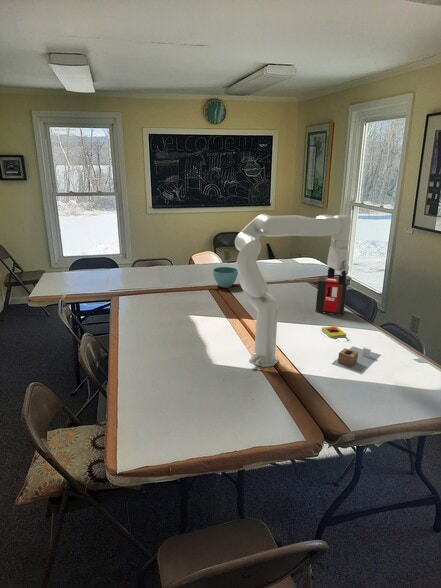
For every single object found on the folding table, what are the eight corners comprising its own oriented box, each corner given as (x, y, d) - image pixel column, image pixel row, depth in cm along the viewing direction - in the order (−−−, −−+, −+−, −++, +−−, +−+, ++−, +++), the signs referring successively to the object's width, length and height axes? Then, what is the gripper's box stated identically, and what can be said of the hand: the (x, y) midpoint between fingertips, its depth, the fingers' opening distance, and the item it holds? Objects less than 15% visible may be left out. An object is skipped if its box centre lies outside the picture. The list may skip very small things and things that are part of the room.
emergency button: (335, 323, 223) (349, 333, 209) (334, 330, 224) (349, 341, 211) (319, 324, 221) (333, 335, 207) (318, 331, 222) (332, 343, 208)
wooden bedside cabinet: (351, 367, 180) (352, 356, 179) (337, 362, 184) (338, 352, 182) (357, 362, 185) (358, 351, 183) (343, 357, 189) (344, 347, 187)
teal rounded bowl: (209, 283, 304) (209, 267, 300) (232, 281, 309) (233, 266, 305) (217, 290, 287) (217, 274, 283) (241, 288, 292) (241, 272, 289)
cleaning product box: (344, 310, 253) (347, 279, 246) (343, 315, 245) (347, 283, 238) (317, 307, 258) (319, 276, 251) (315, 311, 250) (318, 280, 243)
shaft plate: (361, 377, 175) (362, 365, 173) (330, 366, 184) (332, 355, 182) (380, 357, 193) (382, 347, 191) (352, 349, 201) (353, 338, 199)
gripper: (322, 240, 187) (319, 276, 192) (342, 248, 171) (338, 286, 176) (337, 239, 188) (333, 275, 194) (358, 247, 172) (353, 285, 178)
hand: (336, 280), depth 185 cm, fingers open, 9 cm apart
